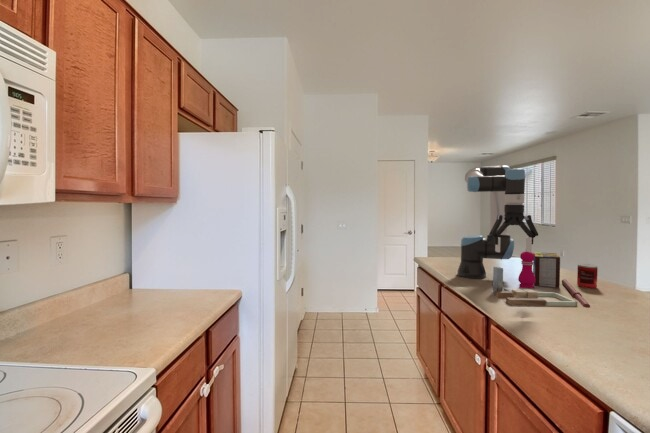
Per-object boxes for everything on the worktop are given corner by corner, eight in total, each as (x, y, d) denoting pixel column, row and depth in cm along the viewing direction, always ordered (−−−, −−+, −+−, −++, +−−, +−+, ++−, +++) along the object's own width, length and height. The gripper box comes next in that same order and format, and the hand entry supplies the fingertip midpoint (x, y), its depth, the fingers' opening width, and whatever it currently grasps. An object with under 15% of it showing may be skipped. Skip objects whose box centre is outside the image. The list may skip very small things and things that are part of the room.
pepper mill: (538, 290, 152) (539, 249, 151) (523, 290, 152) (524, 249, 151) (529, 286, 159) (530, 247, 158) (515, 286, 159) (515, 247, 158)
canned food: (589, 284, 162) (589, 263, 162) (601, 289, 154) (601, 266, 154) (573, 284, 163) (573, 263, 163) (584, 288, 155) (585, 266, 155)
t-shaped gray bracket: (491, 293, 147) (492, 266, 146) (506, 294, 146) (507, 266, 146) (497, 297, 141) (498, 268, 141) (513, 297, 141) (513, 268, 140)
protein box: (555, 281, 169) (556, 253, 168) (559, 288, 155) (560, 257, 155) (532, 279, 174) (533, 251, 173) (534, 286, 161) (535, 255, 160)
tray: (527, 298, 140) (527, 292, 140) (554, 298, 139) (554, 292, 139) (546, 308, 126) (547, 301, 126) (577, 308, 126) (577, 302, 126)
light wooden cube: (522, 298, 136) (522, 289, 135) (531, 298, 135) (532, 289, 135) (527, 301, 132) (527, 292, 131) (537, 301, 131) (537, 292, 131)
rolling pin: (591, 311, 124) (591, 303, 124) (581, 309, 126) (581, 302, 125) (567, 284, 164) (568, 278, 164) (560, 284, 165) (560, 278, 165)
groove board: (494, 297, 141) (494, 290, 141) (526, 298, 140) (526, 290, 140) (510, 308, 127) (510, 300, 127) (546, 308, 126) (546, 300, 126)
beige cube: (511, 298, 136) (511, 289, 136) (521, 298, 136) (521, 289, 135) (516, 301, 132) (516, 291, 132) (526, 301, 132) (526, 292, 131)
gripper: (490, 204, 136) (489, 253, 137) (548, 204, 135) (547, 253, 136) (481, 204, 143) (480, 250, 144) (537, 203, 143) (536, 250, 144)
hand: (513, 251), depth 140 cm, fingers open, 13 cm apart
